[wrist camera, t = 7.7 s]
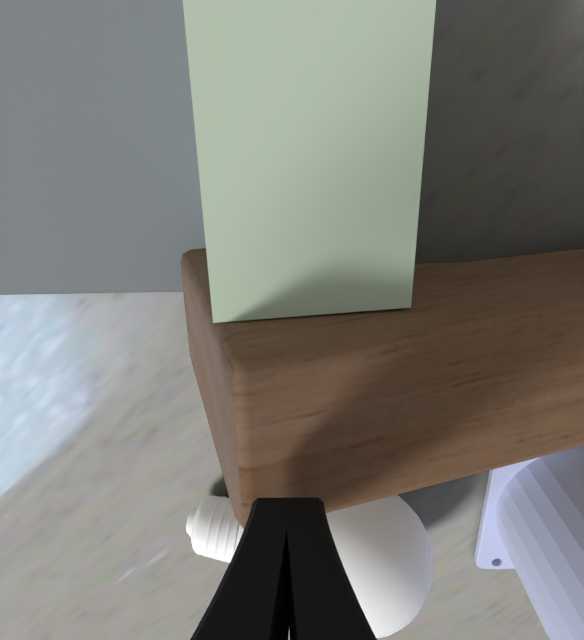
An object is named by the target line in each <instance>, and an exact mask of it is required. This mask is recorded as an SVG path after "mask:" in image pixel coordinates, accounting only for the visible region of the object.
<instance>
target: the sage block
mask: <svg viewBox="0 0 584 640" xmlns="http://www.w3.org/2000/svg"><path fill="white" fill-rule="evenodd" d="M435 9H436V0H183V10H184V20H185V31H186V41H187V52H188V63H189V73H190V84H191V94H192V105H193V116H194V126H195V137H196V147H197V158H198V169H199V179H200V190H201V201H202V211H203V222H204V232H205V243H206V254H207V264H208V275H209V285H210V296H211V307H212V317H213V323H218V322H231V321H244V320H257V319H270V318H282V317H295V316H308V315H321V314H334V313H347V312H360V311H373V310H386V309H399V308H411V301H412V289H413V277H414V265H415V253H416V240H417V228H418V216H419V204H420V192H421V180H422V167H423V155H424V143H425V131H426V119H427V107H428V95H429V82H430V70H431V58H432V46H433V34H434V22H435Z"/></svg>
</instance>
